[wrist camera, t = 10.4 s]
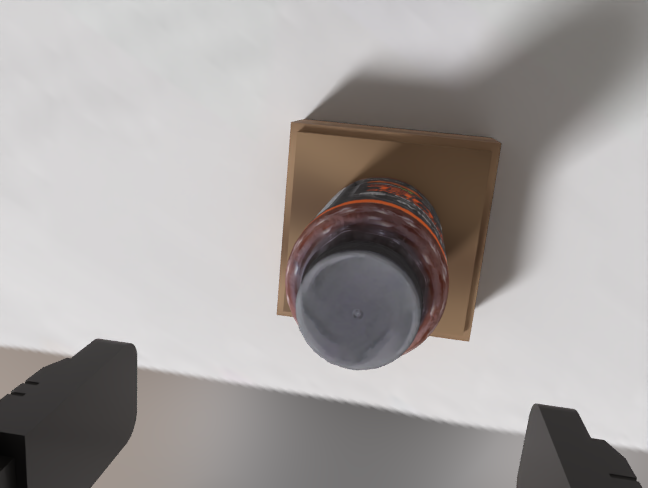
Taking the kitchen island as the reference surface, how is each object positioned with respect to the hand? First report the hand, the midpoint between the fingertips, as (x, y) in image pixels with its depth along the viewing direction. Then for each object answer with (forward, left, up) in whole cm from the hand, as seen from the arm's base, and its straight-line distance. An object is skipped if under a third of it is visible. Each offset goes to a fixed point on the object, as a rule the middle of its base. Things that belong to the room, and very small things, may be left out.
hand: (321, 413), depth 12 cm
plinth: (+1, 0, -22) cm, 22 cm away
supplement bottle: (0, 0, -18) cm, 18 cm away
